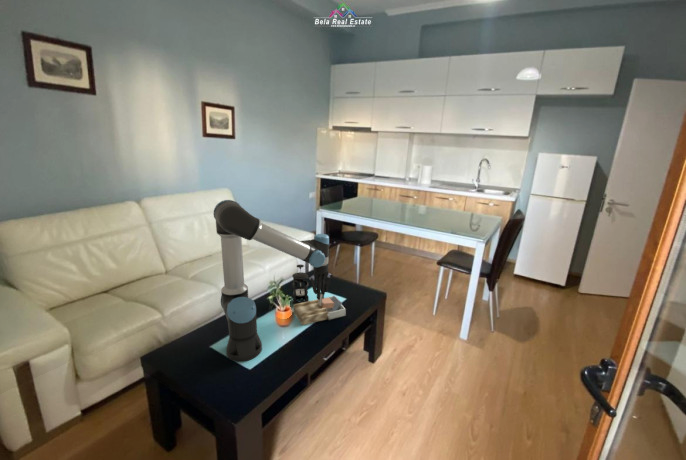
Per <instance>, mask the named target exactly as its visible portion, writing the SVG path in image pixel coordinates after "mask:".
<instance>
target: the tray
mask: <svg viewBox="0 0 686 460" xmlns="http://www.w3.org/2000/svg"><path fill="white" fill-rule="evenodd" d="M333 296H334V295H331V296H326V297H325V298H330V299H332V298H333ZM326 311H327V312H328V319H327V320H328V321H331V320H335V319H338V318H342V317H346V316H347V308H345V307H344V305H343V303H342V304H341V305H340V307H339V308H338V309H337V311H333V310H332V309H331V308H327V309H326Z"/></svg>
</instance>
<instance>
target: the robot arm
mask: <svg viewBox="0 0 686 460" xmlns="http://www.w3.org/2000/svg"><path fill="white" fill-rule="evenodd" d="M213 218H214V220H215V228H216V229H215V230H216V234H217V235H218V236H219V237H220V243H221V244H220V245H221V255H222V256H221V258H222V259H221V260H222V269H223V270H222V271H223V287H221V290H220V291H221V293H220V295H221V296H220V306H221V308H222V310H223V312H224V314H225V315H224V316H225V317H226V320H227V325H228V326H227V327H228V336H229V337H228V341H227V345H226V348H225V352H226V353H225V354H226V357H227V358H228V359H229V360H230V361H233V362H247V361H250V360H252V359H255V358H256V357H258V356H259V355H260V354H261V352H262V350H263V344H262V340H261V338H260V336H259V333H258V323H257V322H258V321H257V306H256V303H255V301H254V300H253V299H252V298H250V297H249V286H248V285H247V284H245V277H244V260H243V259H244V257H243V241H242V240H243V239H244V240H247V241H253V240H254V241H256V242H258V243H260V244H263V245H265V246H268V247H271V248H272V249H275V250H276V251H277V250H278V251H279V252H282V253H285V254H287V255H288V256H292V257H294V258H296V259H298V260H301V261H303V262H305V263H307V264H309V265H310V266H312V267H313V273H312V275H311V276H308V279H309V280H310V284H311V287H312V291H313V293H314V294H315V295H316V300H317V299H318V304H319V305H320V306H321V305H322V299H324V298H325V295H326V293H328V291H329V287H330V284H331V279H333V277H334V276H333V274H331V273H330V272H329V255H330V254H329V253H330V249H329V248H330V236H329V235H328V234H326V233H317V234H315V235H314V237H313V239H307V240H300V239H299V240H298V239H296V238H294V237H292V236H290V235H287V234H286V233H283V232H282V231H280V230H278V229H275V228H273V227H271V226H269V225H267V224H264V223H262V222H261V220H260V219H259V218H258V217H255V216H254V215H252V214H251V213H250V212H248V211H247V209H245V208H244V207H242V205H240V203H238V202H237V201H235V200H231V199H224V200H221V201H219V202H218V203H217V204H216V205H215V206H214V209H213ZM315 280H316V283H315Z"/></svg>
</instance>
